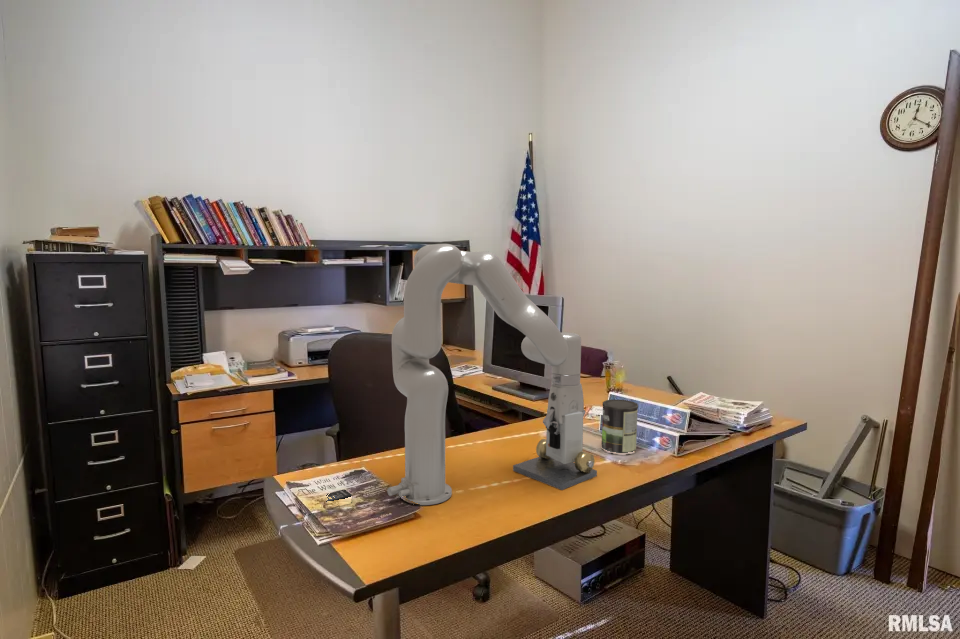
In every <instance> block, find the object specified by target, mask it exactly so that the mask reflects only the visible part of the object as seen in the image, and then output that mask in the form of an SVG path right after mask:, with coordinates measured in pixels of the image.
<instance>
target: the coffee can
mask: <svg viewBox="0 0 960 639" xmlns="http://www.w3.org/2000/svg"><path fill="white" fill-rule="evenodd" d="M638 409H639V404H638V403H637V402H635V401H632V400H627V399H615V398H614V399H606V400H604V401H602V422H601V423H602V425H601V447H602V448H603V449H605V450H607V451H610V452H616V453H628V452H633V451H635V450H636V451H637V437H638V435H637V434H638V413H639V412H638V411H639V410H638Z"/></svg>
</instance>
